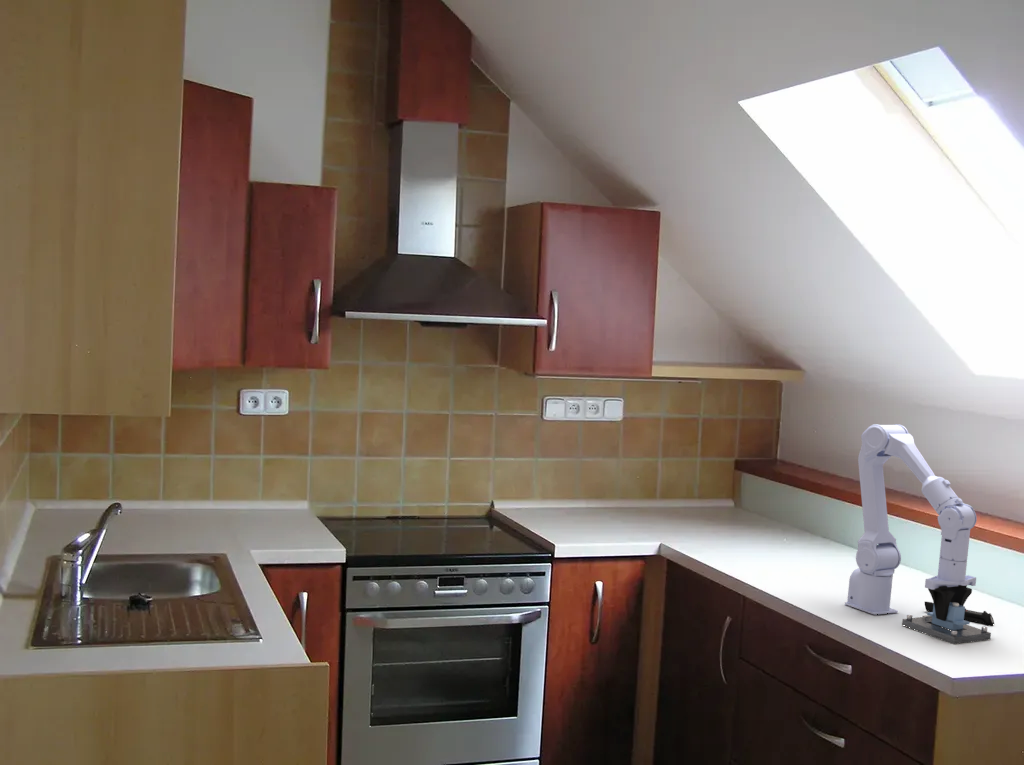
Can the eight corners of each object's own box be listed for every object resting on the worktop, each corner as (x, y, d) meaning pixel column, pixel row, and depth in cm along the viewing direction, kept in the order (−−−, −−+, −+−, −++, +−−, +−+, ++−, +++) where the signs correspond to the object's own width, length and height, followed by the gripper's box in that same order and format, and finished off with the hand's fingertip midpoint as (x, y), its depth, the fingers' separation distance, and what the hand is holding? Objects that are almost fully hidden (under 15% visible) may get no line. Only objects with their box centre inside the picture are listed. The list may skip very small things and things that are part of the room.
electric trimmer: (925, 612, 268) (926, 599, 268) (994, 624, 260) (995, 611, 260) (922, 615, 265) (923, 602, 264) (992, 628, 257) (993, 614, 256)
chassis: (901, 625, 251) (903, 614, 251) (937, 621, 257) (938, 610, 257) (953, 644, 239) (955, 632, 239) (990, 639, 245) (991, 628, 245)
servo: (926, 621, 251) (928, 596, 251) (936, 620, 253) (939, 595, 252) (958, 632, 244) (960, 606, 243) (968, 630, 245) (971, 605, 245)
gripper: (946, 564, 240) (940, 626, 241) (990, 561, 247) (983, 621, 248) (919, 557, 246) (913, 617, 247) (963, 554, 254) (957, 612, 254)
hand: (947, 618), depth 248 cm, fingers closed on servo, 3 cm apart
